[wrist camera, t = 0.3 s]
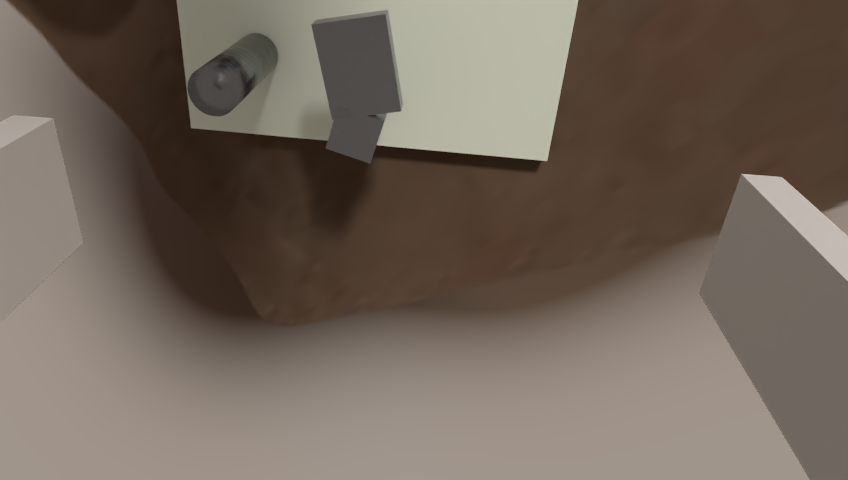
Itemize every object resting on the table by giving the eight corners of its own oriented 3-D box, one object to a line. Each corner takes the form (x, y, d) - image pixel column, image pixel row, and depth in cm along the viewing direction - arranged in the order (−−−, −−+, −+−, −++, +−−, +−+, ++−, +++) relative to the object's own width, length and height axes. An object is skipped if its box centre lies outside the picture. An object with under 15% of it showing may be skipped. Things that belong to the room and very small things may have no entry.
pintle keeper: (239, -27, 35) (176, -2, 27) (417, -10, 35) (405, 19, 27) (247, 100, 39) (194, 153, 31) (408, 115, 39) (396, 172, 31)
